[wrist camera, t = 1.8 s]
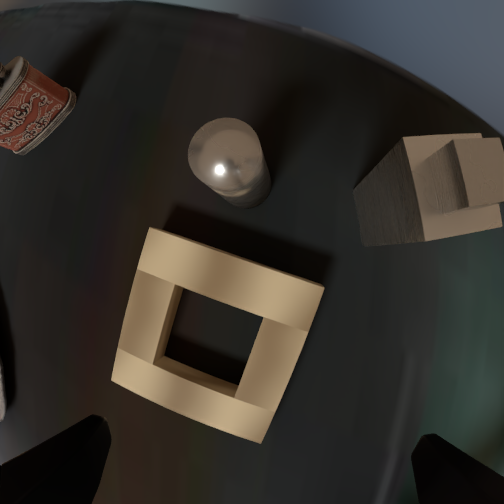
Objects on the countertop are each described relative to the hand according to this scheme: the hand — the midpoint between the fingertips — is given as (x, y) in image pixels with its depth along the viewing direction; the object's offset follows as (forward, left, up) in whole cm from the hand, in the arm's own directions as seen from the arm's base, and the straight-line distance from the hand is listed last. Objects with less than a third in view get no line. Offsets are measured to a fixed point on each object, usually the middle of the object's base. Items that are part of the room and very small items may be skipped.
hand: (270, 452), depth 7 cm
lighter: (+25, -9, -13) cm, 30 cm away
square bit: (-4, -9, -13) cm, 16 cm away
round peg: (+5, -8, -13) cm, 16 cm away
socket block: (+4, +2, -13) cm, 14 cm away
